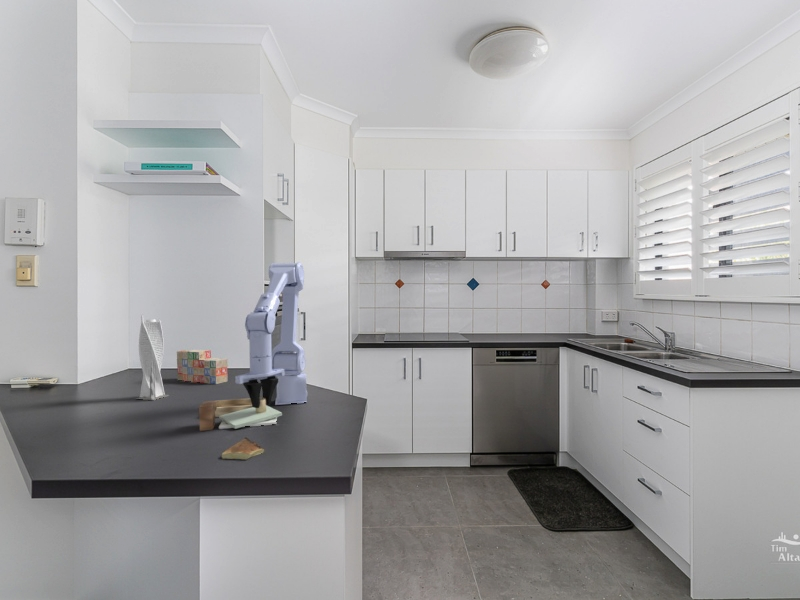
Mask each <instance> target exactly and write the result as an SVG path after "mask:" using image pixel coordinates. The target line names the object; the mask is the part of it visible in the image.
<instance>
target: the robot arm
mask: <svg viewBox="0 0 800 600" xmlns="http://www.w3.org/2000/svg"><path fill="white" fill-rule="evenodd" d="M268 278H269V284H268V285H267V286H268V287H267V290H266V292H264V293H262V294H260V297H259V299H258V301H257V303H256V305H255V307H254V309H253V312H250V313H248V314H247V315H246V318H245V322H244V327H245V331H246V337H247V340H249V372H247V373H243V374H239V375H235V378H234V380H235V384H237V385H241V384H243V386H244V388H245V390H246V391H247V394H248V396H249V398H250V399H251V402H252V406H253V407H254V408H259V406H260V397H261V392H262V397H264V398H266V405H267V406H270V405H271V402H272V397H273V394H274V393H275V389H276V398H275V402H274V403H275V404H274V405H275V406H279V405H280V406H281V405H292V404H291V403H297V404H305V403H304V402H307V403H308V401H307V400H308V399H307V397H308V390H307V373H303V371H304V370H305V367H306V357H305V354H306V353H305V352H306V351H305V349H304V348H303V347H302V346H301V345H300V344H299V343H298V342H297V334H298V333H297V332H298V331H297V329H298V313H299V312H298V310H299V295H300V294H299V293H300V292H301V291H302V290H304V285H305V269H304V266H303V264H302V263H301V262H287V263H285V262H276V263H275V262H272V263H271V264H270V265H269V267H268ZM281 293H282V303H281V301H280V298H279V297H280V296H281ZM280 304H282V307H281V308H282V309H281V324H280V325H281V326H280V342H279V343H277V345H275V347H273V348H272V333H273V331H274V330H275V327H276V319H277V318H276V314H277V312H278V309H279V306H280ZM259 381H260V382H259ZM261 390H262V391H261Z"/></svg>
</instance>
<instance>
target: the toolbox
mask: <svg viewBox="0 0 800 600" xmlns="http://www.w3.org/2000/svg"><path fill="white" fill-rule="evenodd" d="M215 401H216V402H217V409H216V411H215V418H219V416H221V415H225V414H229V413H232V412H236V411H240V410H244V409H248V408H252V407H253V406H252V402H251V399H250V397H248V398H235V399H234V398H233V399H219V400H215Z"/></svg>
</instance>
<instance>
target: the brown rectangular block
mask: <svg viewBox="0 0 800 600" xmlns="http://www.w3.org/2000/svg"><path fill="white" fill-rule="evenodd" d="M198 409H199V410H198V411H199V414H198V415H199V418H198V419H199V431H201V432H202V431H212V430H214V428H215V426H216V417H215V411H216V409H217V402H216V400H209V401H206V400H205V401H203V403H201V404H200V405H199V407H198Z"/></svg>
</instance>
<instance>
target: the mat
mask: <svg viewBox="0 0 800 600" xmlns="http://www.w3.org/2000/svg"><path fill="white" fill-rule="evenodd" d="M277 420H278V417H275V418H271V419H268V420H264V421H261V422H257V423H254V424H250V425H247V426H250V427H259V426H260V427H261V425H264V426H273V425H272V424H276V425H277V422H276V421H277ZM242 428H246V427H245V426H243V427H242ZM218 429H219V430H223V429H234V428H233V427H232V426H230V425H228V424H227V423H225V422H223V421H222V420H221V422H220V424H219V426H218Z"/></svg>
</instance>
